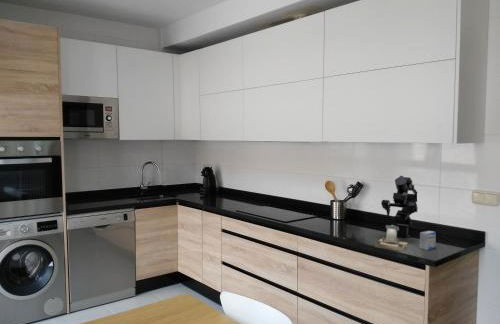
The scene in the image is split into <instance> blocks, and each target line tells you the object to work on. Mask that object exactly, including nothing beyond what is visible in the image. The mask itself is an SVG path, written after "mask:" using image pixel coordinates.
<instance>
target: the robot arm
mask: <svg viewBox="0 0 500 324" xmlns="http://www.w3.org/2000/svg"><path fill="white" fill-rule="evenodd" d="M394 182H395V187H396V192H393V194H392V199H393V202H390V200H389V199H382V200H381V203H380V204H381V207H382V209H384V210H385V211H386V217H387V218H389V217H390V213H391V207H394V208H395V207H396V208H401V210H400V209H398V210H397V211H396V214H395V215H394V218H393V219H394V220H393V221H394V225H395V226H398V227H399V231H397V236H396V238H403V239H405V238H410V237H411V235H410V234H409V228H412V227H413V225H412V219H411V217H410V216H411V215H412V214H415V213H418V208H419V207H418V204H417V202H418V201H417V193H418V191H417V190H416V189H415V184H413V180H412V179H411V177H409V176H408V177H406V176H404V175H399V177H397V178H395V179H394ZM409 191H411V192H412V193H409Z"/></svg>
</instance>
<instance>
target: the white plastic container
mask: <svg viewBox="0 0 500 324" xmlns="http://www.w3.org/2000/svg"><path fill="white" fill-rule="evenodd" d="M385 229H386V236H385V241H391V242H397V231H399V227H398V226H395V224H394V225H393V224H391V225H388V224H385Z"/></svg>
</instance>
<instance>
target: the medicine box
mask: <svg viewBox="0 0 500 324" xmlns="http://www.w3.org/2000/svg"><path fill="white" fill-rule="evenodd" d="M436 233H437V232H436V231H433V230H427V231H426V230H425V231H421V232H419V249H422V250H425V251H430V250H433V249H436V242H437V241H436V239H437V238H436V235H437V234H436Z"/></svg>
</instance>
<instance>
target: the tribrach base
mask: <svg viewBox="0 0 500 324" xmlns="http://www.w3.org/2000/svg"><path fill="white" fill-rule="evenodd" d="M385 238H386V236H382V238H380V239H379V240H376V241H375V243H374V248H380V249H386V250H392V251H400V252H404V251H405V250H406V249H407V248H408V246H409V243H408V242H406V241H401V240H400V238H396V240H397V242H391V241H385Z"/></svg>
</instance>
